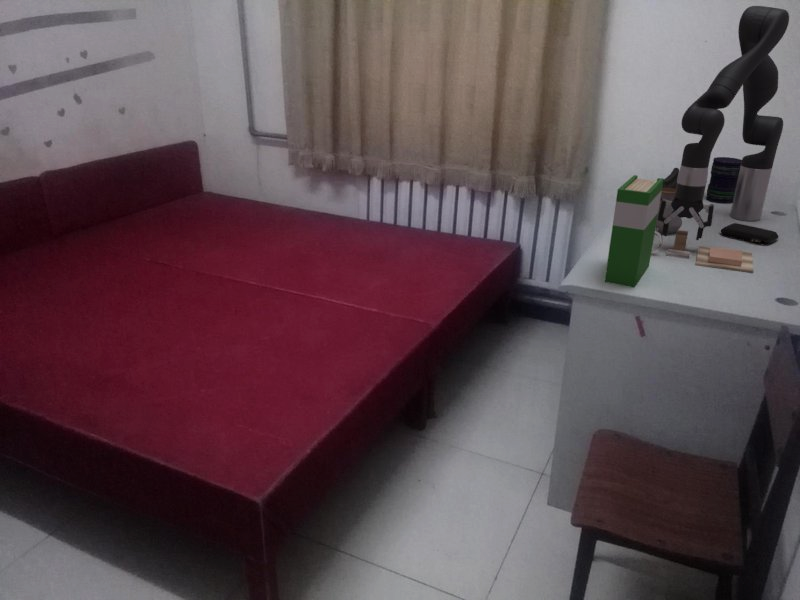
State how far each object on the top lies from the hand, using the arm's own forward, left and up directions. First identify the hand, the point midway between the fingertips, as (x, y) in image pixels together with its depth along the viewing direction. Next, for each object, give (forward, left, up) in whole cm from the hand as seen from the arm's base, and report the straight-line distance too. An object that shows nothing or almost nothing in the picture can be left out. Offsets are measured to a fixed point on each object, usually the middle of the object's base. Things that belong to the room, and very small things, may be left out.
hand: (681, 237), depth 188 cm
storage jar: (-66, +10, -4) cm, 67 cm away
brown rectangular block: (+2, 0, -4) cm, 4 cm away
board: (+4, +12, -4) cm, 13 cm away
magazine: (-52, -8, -4) cm, 53 cm away
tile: (+1, +12, -2) cm, 12 cm away
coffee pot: (-13, -7, -4) cm, 15 cm away
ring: (+8, -8, -4) cm, 12 cm away
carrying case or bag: (-21, +18, -4) cm, 28 cm away
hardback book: (+27, -11, -4) cm, 29 cm away
